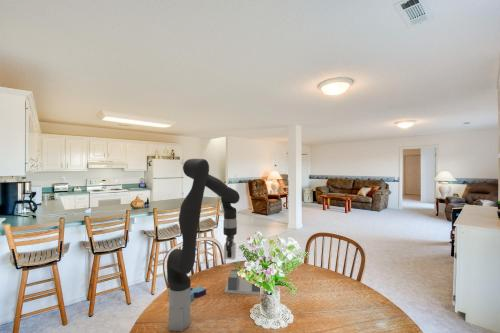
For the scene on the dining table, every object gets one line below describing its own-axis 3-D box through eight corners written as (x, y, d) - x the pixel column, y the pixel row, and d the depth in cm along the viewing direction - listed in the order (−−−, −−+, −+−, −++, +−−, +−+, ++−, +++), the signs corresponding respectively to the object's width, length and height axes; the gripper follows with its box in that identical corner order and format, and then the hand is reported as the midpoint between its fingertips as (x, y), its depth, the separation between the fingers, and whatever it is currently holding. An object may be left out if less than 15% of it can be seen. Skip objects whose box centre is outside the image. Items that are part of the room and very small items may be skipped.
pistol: (208, 294, 138) (187, 306, 125) (189, 285, 147) (167, 296, 134) (208, 286, 138) (187, 298, 125) (189, 278, 147) (168, 288, 134)
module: (234, 259, 138) (234, 244, 138) (224, 259, 139) (224, 244, 139) (235, 256, 142) (235, 242, 142) (225, 256, 143) (225, 242, 143)
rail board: (263, 295, 137) (264, 281, 137) (224, 292, 138) (224, 278, 138) (264, 282, 151) (264, 270, 150) (228, 280, 152) (228, 268, 152)
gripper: (235, 229, 133) (234, 261, 133) (238, 222, 147) (238, 251, 147) (221, 229, 133) (221, 260, 134) (225, 222, 147) (225, 250, 148)
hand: (230, 255), depth 141 cm, fingers closed on module, 4 cm apart
